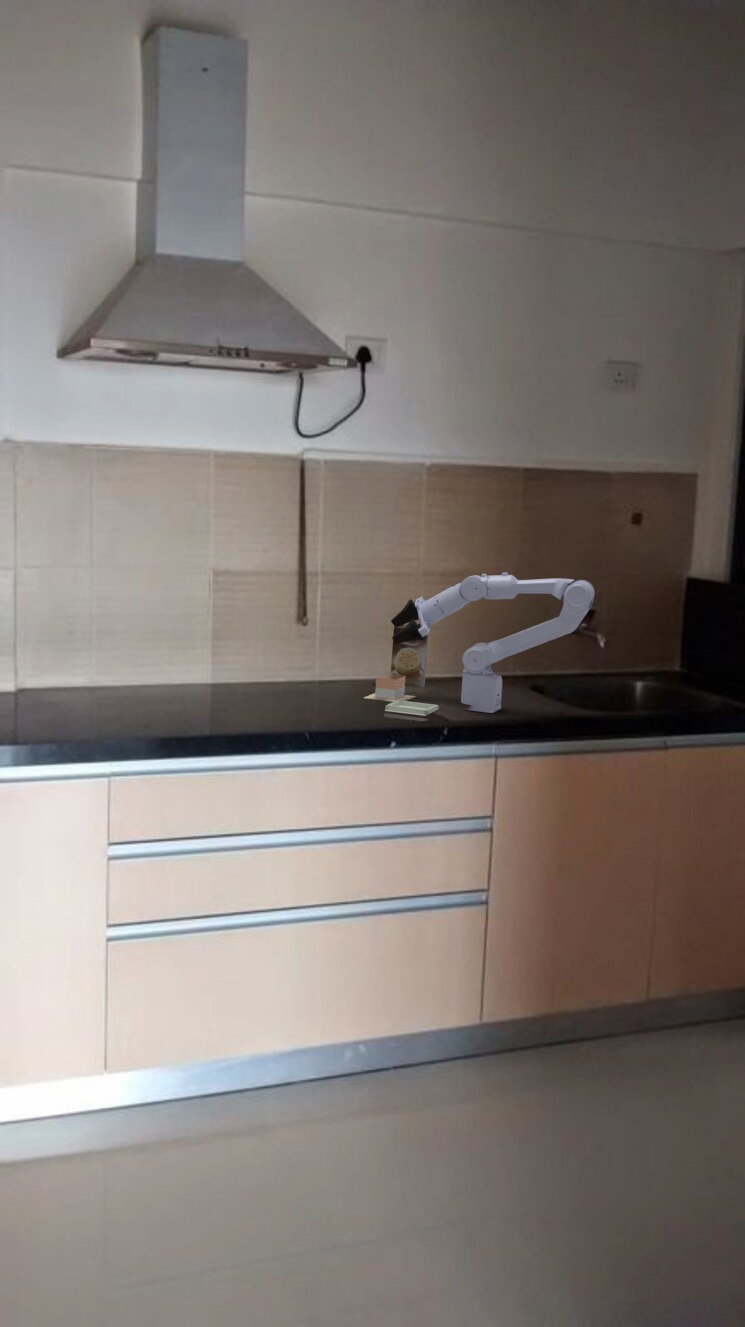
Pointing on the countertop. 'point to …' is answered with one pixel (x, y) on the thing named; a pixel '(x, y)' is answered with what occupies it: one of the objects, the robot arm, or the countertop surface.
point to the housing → (390, 687)
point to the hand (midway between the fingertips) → (393, 632)
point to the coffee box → (410, 659)
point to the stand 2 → (410, 709)
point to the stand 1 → (404, 698)
